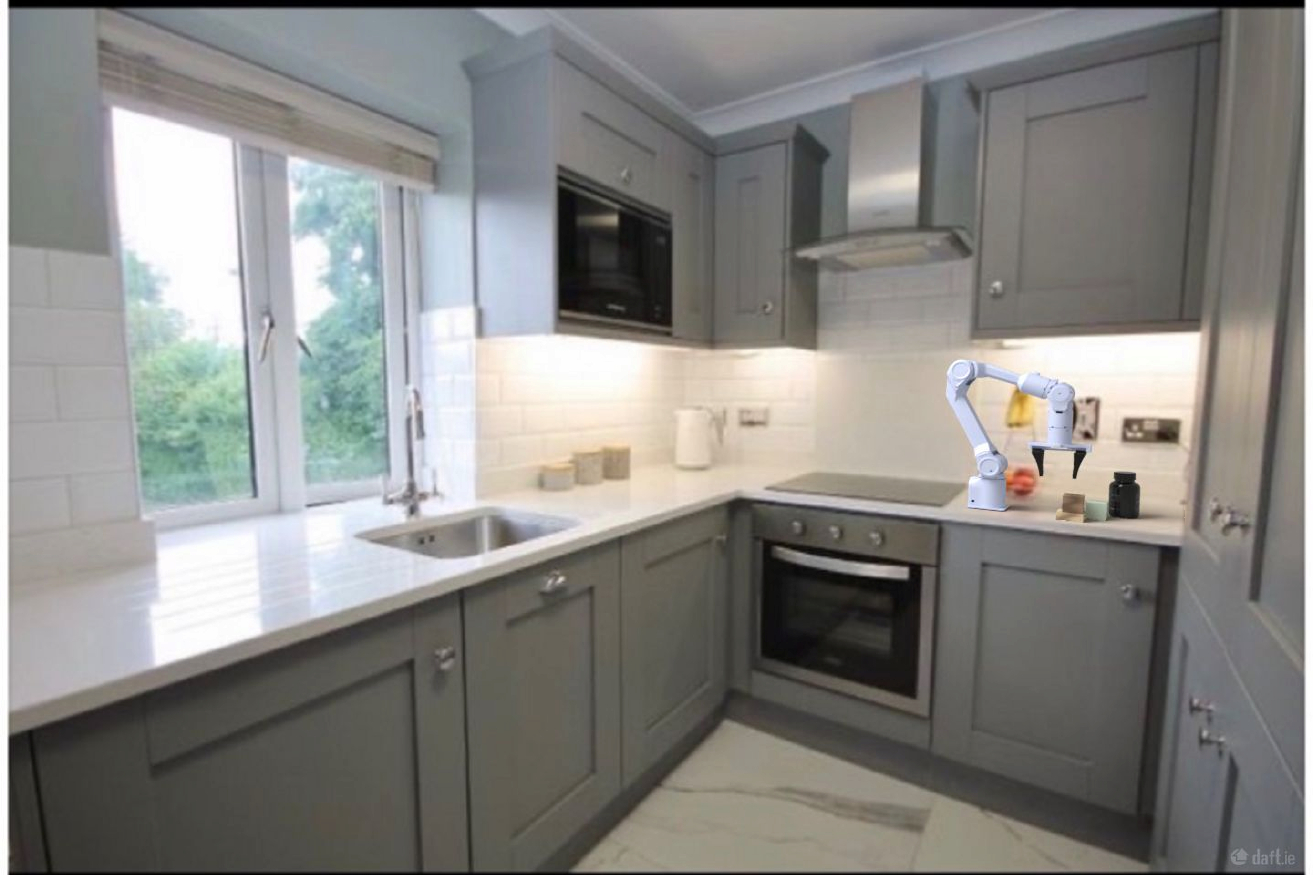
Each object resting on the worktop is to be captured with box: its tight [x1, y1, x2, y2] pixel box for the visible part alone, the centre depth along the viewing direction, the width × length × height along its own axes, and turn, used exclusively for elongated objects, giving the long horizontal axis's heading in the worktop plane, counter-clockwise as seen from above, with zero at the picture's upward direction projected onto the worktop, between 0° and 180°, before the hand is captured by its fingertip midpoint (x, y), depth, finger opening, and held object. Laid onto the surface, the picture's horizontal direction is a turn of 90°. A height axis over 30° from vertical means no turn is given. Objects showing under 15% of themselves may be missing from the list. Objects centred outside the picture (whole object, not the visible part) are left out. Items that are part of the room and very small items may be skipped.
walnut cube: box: [1061, 492, 1086, 514], centre depth 166 cm, size 4×4×4 cm
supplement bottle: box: [1107, 471, 1141, 520], centre depth 169 cm, size 7×7×12 cm
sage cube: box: [1085, 499, 1109, 522], centre depth 167 cm, size 4×4×4 cm
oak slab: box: [1055, 508, 1086, 524], centre depth 166 cm, size 6×6×2 cm
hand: (1057, 477), depth 171 cm, fingers open, 7 cm apart
